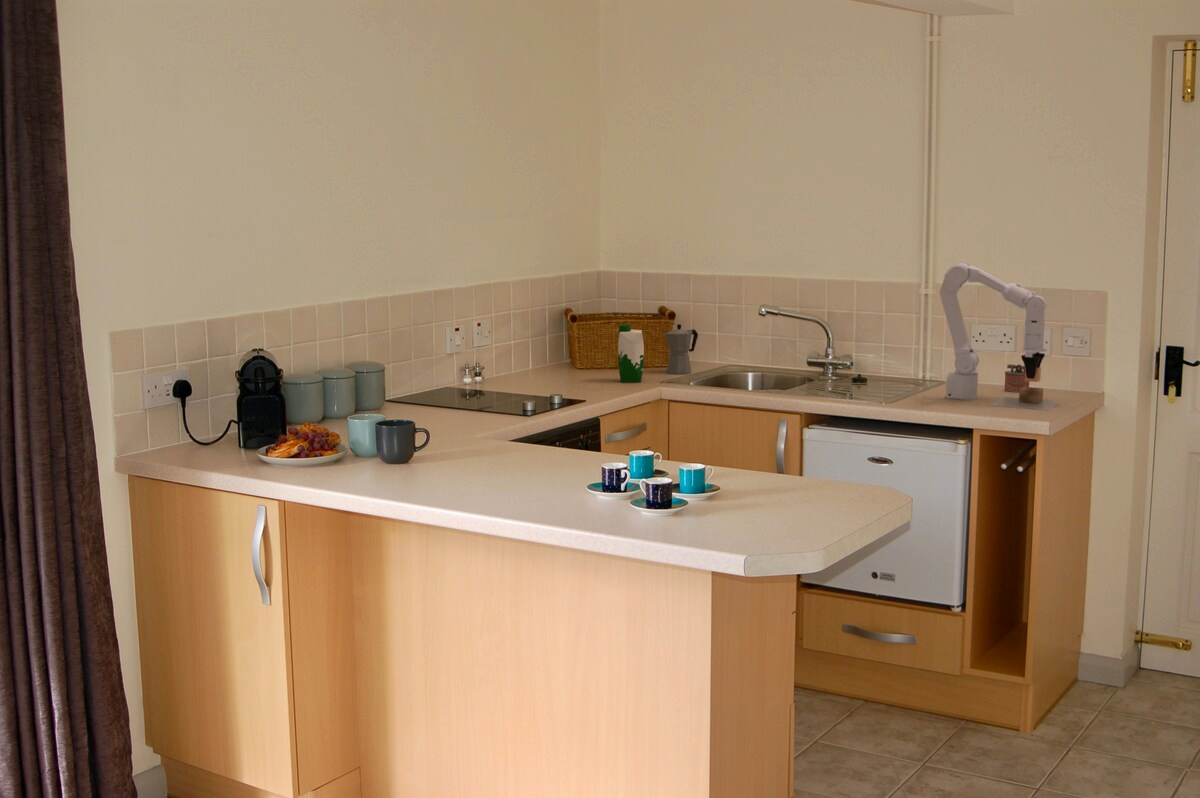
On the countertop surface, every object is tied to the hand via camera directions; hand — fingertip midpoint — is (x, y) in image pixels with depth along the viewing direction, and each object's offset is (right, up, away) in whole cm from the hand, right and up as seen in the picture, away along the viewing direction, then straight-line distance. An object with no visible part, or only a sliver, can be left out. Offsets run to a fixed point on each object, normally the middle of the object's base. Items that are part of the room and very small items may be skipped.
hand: (1032, 377), depth 402 cm
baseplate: (-3, -9, -1) cm, 10 cm away
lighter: (+2, -6, +20) cm, 21 cm away
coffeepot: (-106, +3, +72) cm, 128 cm away
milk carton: (-125, -1, +53) cm, 135 cm away
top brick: (0, -1, 0) cm, 1 cm away
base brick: (0, -8, +1) cm, 8 cm away
